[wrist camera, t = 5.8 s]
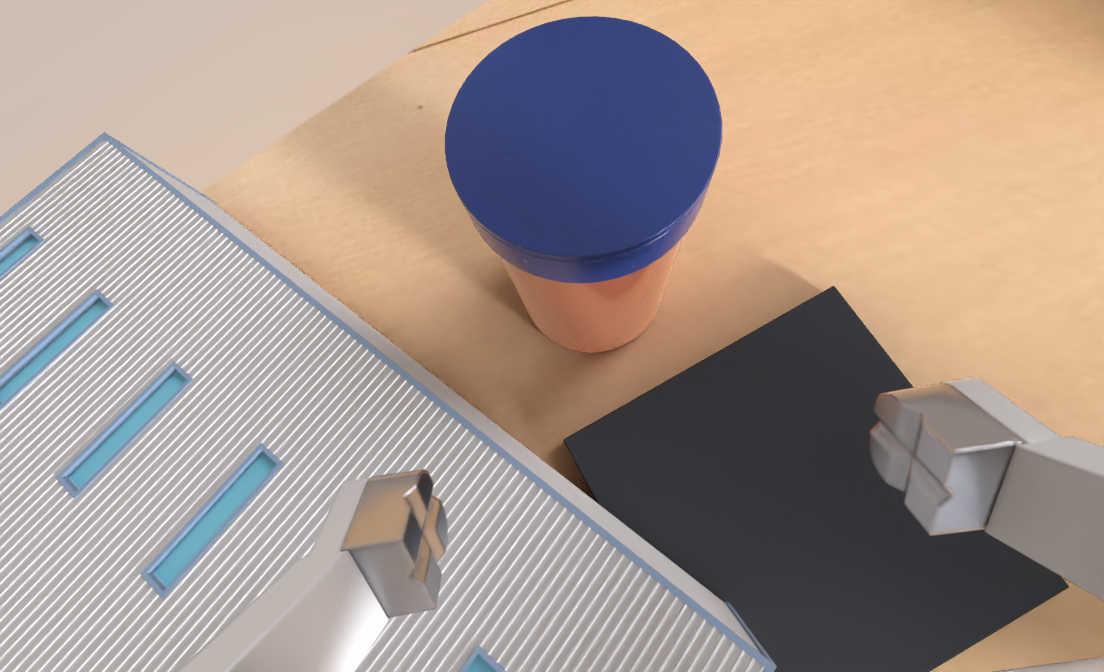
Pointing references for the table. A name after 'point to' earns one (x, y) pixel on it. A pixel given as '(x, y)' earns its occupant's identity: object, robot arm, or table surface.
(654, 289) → the jam jar
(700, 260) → the table surface
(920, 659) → the mat
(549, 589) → the warehouse
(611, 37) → the jam lid
